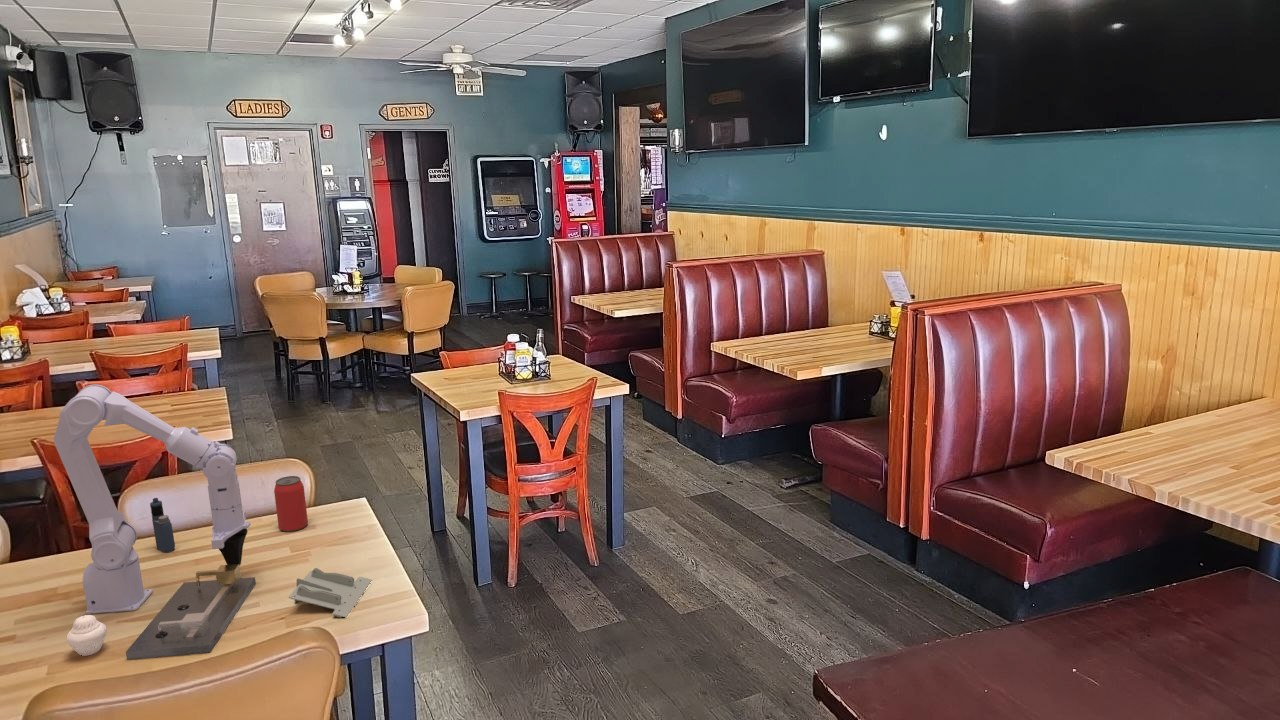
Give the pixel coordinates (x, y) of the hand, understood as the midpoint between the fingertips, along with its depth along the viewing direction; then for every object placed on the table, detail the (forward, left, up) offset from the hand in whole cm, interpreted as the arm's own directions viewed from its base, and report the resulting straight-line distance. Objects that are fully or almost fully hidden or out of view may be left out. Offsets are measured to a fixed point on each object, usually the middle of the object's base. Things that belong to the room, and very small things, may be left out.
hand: (234, 566), depth 177 cm
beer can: (+4, +28, -4) cm, 29 cm away
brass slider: (-2, -4, -2) cm, 5 cm away
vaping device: (-22, +20, -4) cm, 30 cm away
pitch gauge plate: (-3, -14, -4) cm, 15 cm away
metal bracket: (+21, -10, -5) cm, 24 cm away
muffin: (-18, -23, -4) cm, 29 cm away
